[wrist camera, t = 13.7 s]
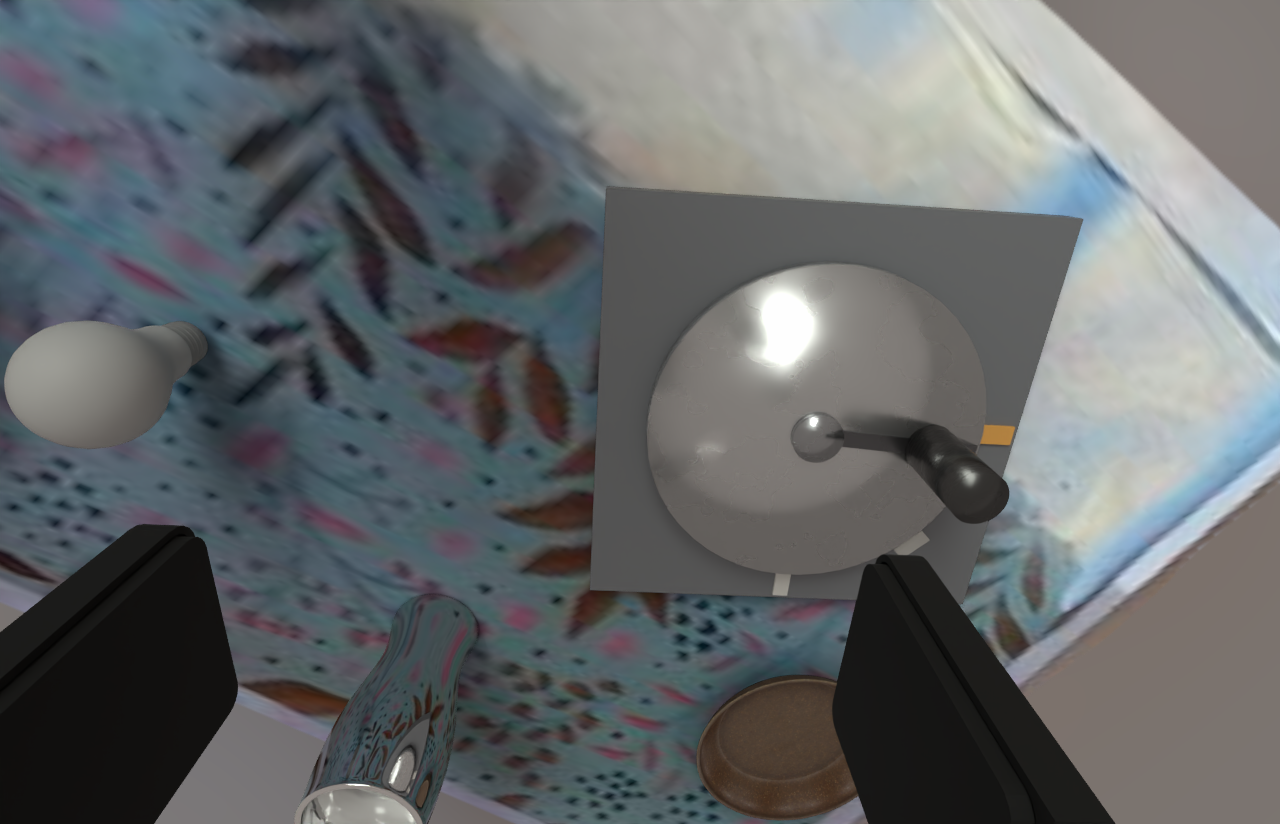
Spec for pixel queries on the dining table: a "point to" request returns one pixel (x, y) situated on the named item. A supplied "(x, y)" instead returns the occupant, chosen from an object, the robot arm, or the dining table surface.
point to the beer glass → (396, 724)
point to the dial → (820, 420)
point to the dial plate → (753, 245)
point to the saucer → (777, 751)
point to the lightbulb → (99, 379)
